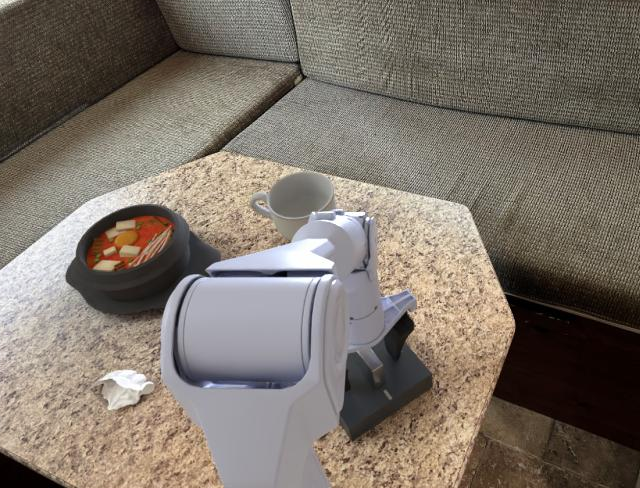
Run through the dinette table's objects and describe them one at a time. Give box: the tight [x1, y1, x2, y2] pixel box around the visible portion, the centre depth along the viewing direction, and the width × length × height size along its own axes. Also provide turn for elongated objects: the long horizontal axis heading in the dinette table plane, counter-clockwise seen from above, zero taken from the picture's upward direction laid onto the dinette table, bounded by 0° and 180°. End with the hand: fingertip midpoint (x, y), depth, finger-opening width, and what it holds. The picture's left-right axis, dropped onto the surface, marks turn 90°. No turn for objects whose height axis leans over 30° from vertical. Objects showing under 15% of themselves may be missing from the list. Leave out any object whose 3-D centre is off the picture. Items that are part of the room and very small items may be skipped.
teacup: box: [249, 170, 338, 242], centre depth 98 cm, size 14×11×8 cm
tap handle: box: [352, 348, 386, 389], centre depth 74 cm, size 6×2×4 cm, turn 34°
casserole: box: [64, 203, 222, 315], centre depth 93 cm, size 25×19×8 cm
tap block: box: [339, 337, 434, 442], centre depth 76 cm, size 12×10×3 cm
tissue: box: [83, 369, 156, 411], centre depth 78 cm, size 6×8×4 cm
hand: (369, 369), depth 75 cm, fingers open, 6 cm apart
